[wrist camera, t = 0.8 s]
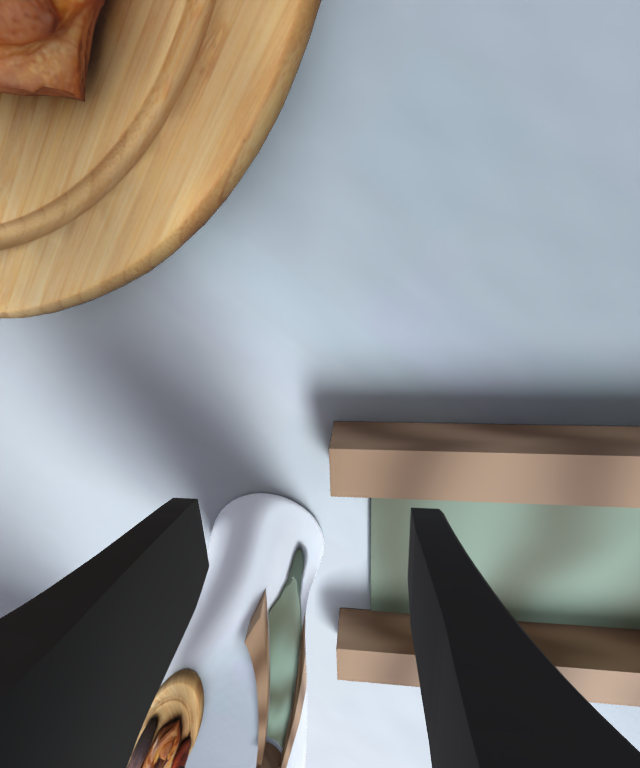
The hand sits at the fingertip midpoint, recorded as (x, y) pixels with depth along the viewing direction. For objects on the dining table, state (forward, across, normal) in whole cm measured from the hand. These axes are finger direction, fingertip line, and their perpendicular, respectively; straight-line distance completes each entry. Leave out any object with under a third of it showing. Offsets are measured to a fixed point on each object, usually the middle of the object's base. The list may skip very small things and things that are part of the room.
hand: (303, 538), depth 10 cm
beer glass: (+11, +4, +10) cm, 15 cm away
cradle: (+10, -10, +10) cm, 17 cm away
